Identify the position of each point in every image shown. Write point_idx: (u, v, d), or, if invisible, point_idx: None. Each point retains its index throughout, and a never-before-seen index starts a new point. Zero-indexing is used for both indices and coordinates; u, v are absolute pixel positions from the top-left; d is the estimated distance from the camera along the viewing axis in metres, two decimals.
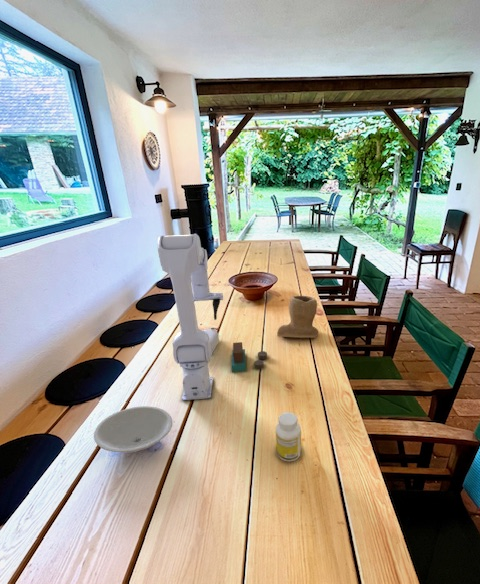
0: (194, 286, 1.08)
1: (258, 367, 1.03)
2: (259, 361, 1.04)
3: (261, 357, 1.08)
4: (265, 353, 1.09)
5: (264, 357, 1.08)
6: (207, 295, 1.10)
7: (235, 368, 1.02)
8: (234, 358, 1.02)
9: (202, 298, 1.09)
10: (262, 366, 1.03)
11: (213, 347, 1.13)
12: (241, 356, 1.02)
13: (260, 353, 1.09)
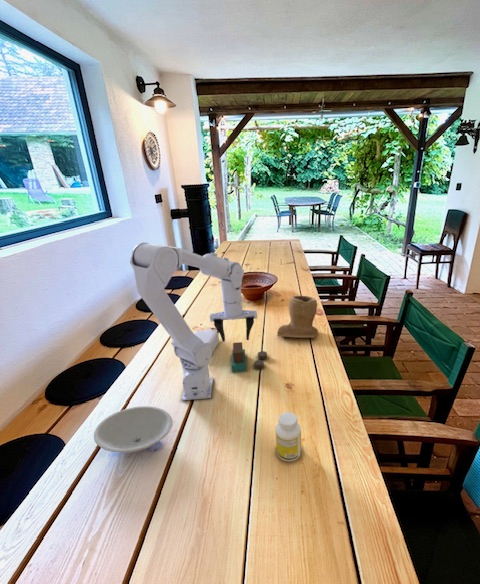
0: (226, 304, 0.96)
1: (258, 367, 1.03)
2: (259, 361, 1.04)
3: (261, 357, 1.08)
4: (265, 353, 1.09)
5: (264, 357, 1.08)
6: (240, 313, 0.98)
7: (235, 368, 1.02)
8: (234, 358, 1.02)
9: (235, 317, 0.97)
10: (262, 366, 1.03)
11: (213, 347, 1.13)
12: (241, 356, 1.02)
13: (260, 353, 1.09)
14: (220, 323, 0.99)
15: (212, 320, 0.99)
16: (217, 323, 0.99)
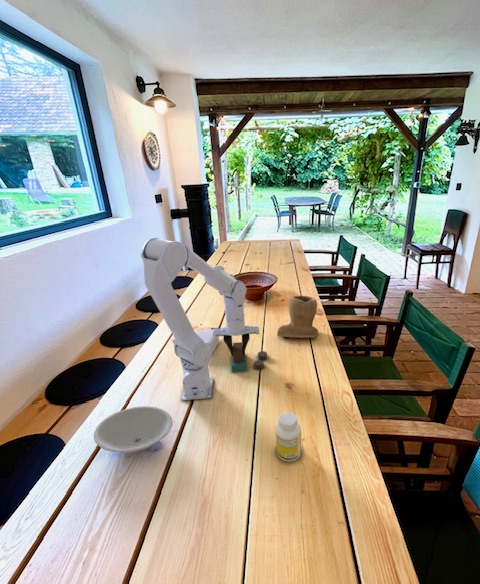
0: (229, 320, 0.98)
1: (258, 367, 1.03)
2: (259, 361, 1.04)
3: (261, 357, 1.08)
4: (265, 353, 1.09)
5: (264, 357, 1.08)
6: (243, 330, 1.00)
7: (235, 368, 1.02)
8: (234, 358, 1.02)
9: (237, 333, 0.99)
10: (262, 366, 1.03)
11: (213, 347, 1.13)
12: (241, 356, 1.02)
13: (260, 353, 1.09)
14: (229, 338, 1.01)
15: (215, 336, 1.01)
16: (226, 338, 1.01)
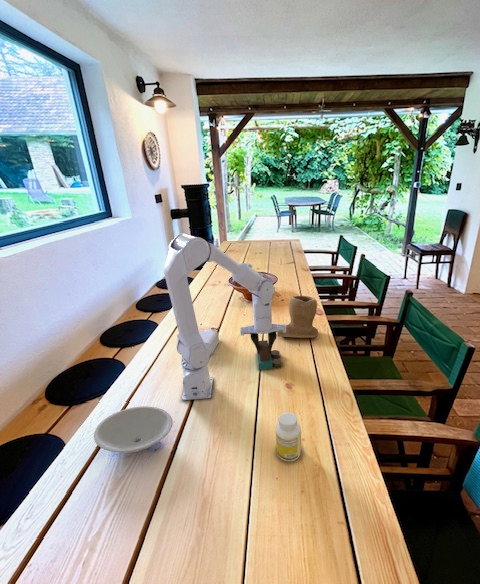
0: (257, 318, 0.98)
1: (276, 366, 1.03)
2: (277, 360, 1.05)
3: (274, 356, 1.08)
4: (278, 352, 1.09)
5: (277, 356, 1.08)
6: (270, 328, 1.00)
7: (262, 365, 1.02)
8: (261, 356, 1.02)
9: (265, 331, 0.99)
10: (280, 365, 1.03)
11: (213, 347, 1.13)
12: (268, 354, 1.02)
13: (273, 352, 1.09)
14: (256, 336, 1.01)
15: (242, 334, 1.01)
16: (254, 336, 1.01)
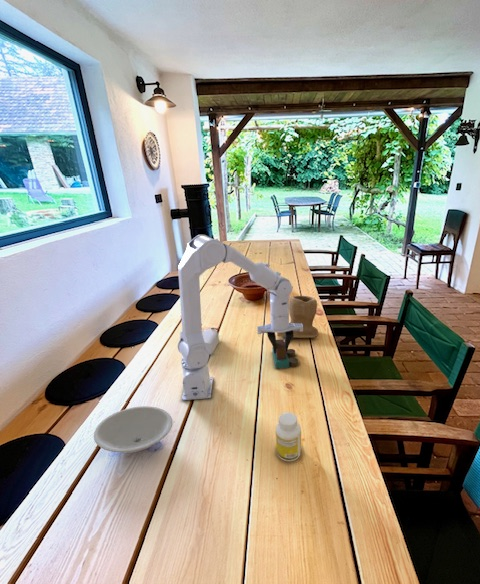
0: (275, 317, 0.98)
1: (293, 365, 1.03)
2: (293, 359, 1.05)
3: (290, 355, 1.08)
4: (293, 350, 1.10)
5: (293, 354, 1.09)
6: (287, 326, 1.01)
7: (279, 364, 1.02)
8: (278, 355, 1.03)
9: (282, 330, 1.00)
10: (297, 364, 1.04)
11: (213, 347, 1.13)
12: (285, 353, 1.03)
13: (288, 351, 1.10)
14: (274, 335, 1.02)
15: (259, 333, 1.02)
16: (271, 335, 1.02)
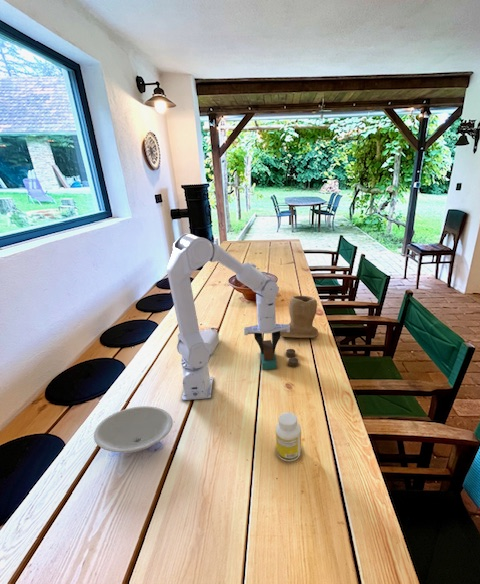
0: (261, 318, 0.98)
1: (293, 365, 1.03)
2: (293, 359, 1.05)
3: (290, 355, 1.08)
4: (293, 350, 1.10)
5: (293, 354, 1.09)
6: (274, 327, 1.00)
7: (266, 365, 1.02)
8: (265, 356, 1.02)
9: (269, 331, 0.99)
10: (297, 364, 1.04)
11: (213, 347, 1.13)
12: (272, 354, 1.02)
13: (288, 351, 1.10)
14: (260, 336, 1.01)
15: (246, 334, 1.01)
16: (257, 336, 1.01)
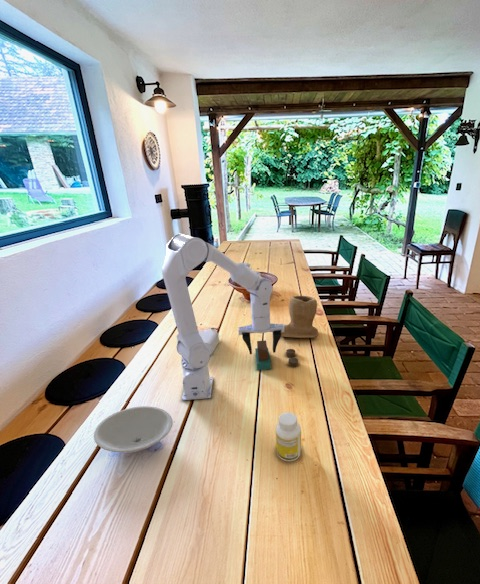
0: (255, 318, 0.98)
1: (293, 365, 1.03)
2: (293, 359, 1.05)
3: (290, 355, 1.08)
4: (293, 350, 1.10)
5: (293, 354, 1.09)
6: (268, 327, 1.00)
7: (261, 366, 1.02)
8: (259, 356, 1.02)
9: (263, 331, 0.99)
10: (297, 364, 1.04)
11: (213, 347, 1.13)
12: (266, 354, 1.02)
13: (288, 351, 1.10)
14: (248, 336, 1.01)
15: (240, 333, 1.01)
16: (245, 336, 1.01)
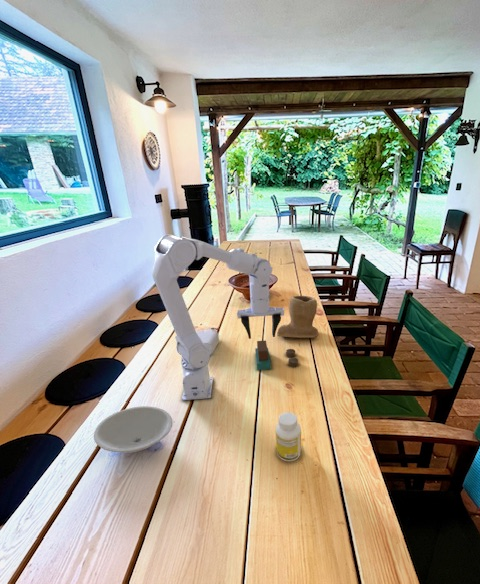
0: (254, 300, 0.96)
1: (293, 365, 1.03)
2: (293, 359, 1.05)
3: (290, 355, 1.08)
4: (293, 350, 1.10)
5: (293, 354, 1.09)
6: (267, 310, 0.98)
7: (261, 366, 1.02)
8: (259, 356, 1.02)
9: (262, 314, 0.97)
10: (297, 364, 1.04)
11: (213, 347, 1.13)
12: (266, 354, 1.02)
13: (288, 351, 1.10)
14: (247, 320, 0.99)
15: (239, 317, 0.99)
16: (244, 320, 0.99)
